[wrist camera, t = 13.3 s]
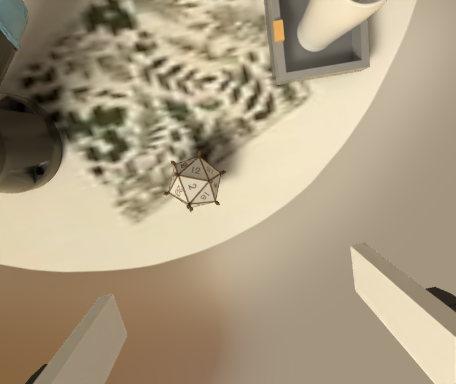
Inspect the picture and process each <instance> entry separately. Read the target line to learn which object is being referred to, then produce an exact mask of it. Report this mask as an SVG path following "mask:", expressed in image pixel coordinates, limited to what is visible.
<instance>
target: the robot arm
mask: <svg viewBox="0 0 456 384" xmlns="http://www.w3.org/2000/svg"><path fill="white" fill-rule="evenodd" d="M27 21H28V11H27V8H26V6H25V4H24V2H23V0H0V85H1V82H2V80H3V78H4V76H5V74H6V72H7V70H8V67H9V65H10V63H11V61H12V59H13V57H14V54H15V52H16V51H19V50H20V45H19V42H20V40H21V37H22V35H23V32H24V30H25V27H26V24H27ZM61 155H62V146H61V140H60V136H59V133H58V131H57V128H56V126H55V125H54V123H53V121H52V120H51V118H50V117H49V116H48V115H47V114H46V113H45V112H44V111H43V110H42V109H41V108H40V107H39V106H37V105H36V104H35V103H33V102H31V101H29V100H27V99H25V98H22V97H19V96H15V95H10V94H5V93H0V192H1V193H21V192H25V191H29V190H33V189H36V188H39V187H41V186H43V185H44V184H46V183H47V182H48V181H49V180H50V179H51V178H52V177H53V176H54V175H55V173H56V172H57V170H58V167H59V165H60V161H61ZM351 255H352V264H353V274H354V283H355V290H356V292H357V293H358V294H359V295H360V296H361V298H362V299H363V300H364V301H365V302H366V303H367V305H368V306H369V307H370V308H371V309H372V311H373V312H374V313H375V314H376V315H377V316H378V318H379V319H380V320H381V321H382V322H383V323H384V324H385V326H386V327H387V328H388V329H389V330H390V332H391V333H392V334H393V335H394V336H395V338H396V339H397V340H398V341H399V342H400V343H401V345H402V346H403V347H404V348H405V349H406V350H407V352H408V353H409V354H410V355H411V356H412V357H413V359H414V360H415V361H416V362H417V363H418V365H419V366H420V367H421V368H422V369H423V371H424V372H425V373H426V374H427V375H428V376H429V378H430V379H431V380H432V381H433V382H434V383H435V384H456V297H455V296H454V295H452V294H451V293H448V292H446V291H444V290H441V289H439V288H436V287H432V288H428V289H424V288H423V287H422V286H421V285H419V284H418V283H417V282H415V281H414V280H413V279H411V278H410V277H409V276H408V275H406V274H405V273H404V272H402V271H401V270H400V269H398V268H397V267H396V266H394V265H393V264H392V263H391V262H389V261H388V260H386V259H385V258H384V257H383V256H381V255H380V254H379V253H377V252H376V251H375V250H373V249H372V248H371V247H370V246H368V245H367V244H366V243H361V244H356V245H351ZM126 337H127V332H126V329H125V327H124V324H123V321H122V318H121V315H120V312H119V309H118V307H117V304H116V301H115V298H114V295H113V293H112V294H108V295H103V296H99V297H98V299H97V300H96V301H95V303H94V304H93V305H92V307H91V308H90V309H89V311H88V312H87V313H86V314H85V316H84V317H83V318H82V320H81V321H80V322H79V324H78V325H77V326H76V328H75V329H74V330H73V332H72V333H71V334H70V336H69V337H68V338H67V340H66V341H65V342H64V344H63V345H62V346H61V347H60V349H59V350H58V351H57V353H56V354H55V356H54V357H53V358H52V359H51V361H50V362H49V363H48V364H44V365H43V366H42V367H41V368H40V369H39V370H38V371H37V372H36V373H34V374H33V375H32V376H31V377H30V378H29V380H28V381H27V382H26V383H25V384H105V382H106V380H107V378H108V376H109V374H110V372H111V369H112V367H113V365H114V363H115V361H116V359H117V357H118V354H119V352H120V350H121V348H122V346H123V344H124V342H125V340H126Z"/></svg>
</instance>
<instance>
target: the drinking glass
mask: <svg viewBox="0 0 456 384" xmlns="http://www.w3.org/2000/svg"><path fill="white" fill-rule="evenodd" d="M386 1H387V0H309V2H308V5H307V7H306V10H305V12H304V15H303V17H302V18H301V20H300V22H299V25H298V28H297V37H298V41H299V43H300V44H301V46H302V47H303V48H304V49H306V50H308V51H311V52H318V51H321V50H323V49H325V48H326V47H328V46H329V45H330V44H331V43H332V42H334V41H335V40H337V39H338V38H340V37H341V36H343V35H344V34H346V33H347V32H349V31H350V30H352V29H353V28H355V27H356V26H358V25H359V24H360V23H362V22H363V21H365V20H366V19H367V18H368V17H370V16H371V15H372V14H373V13H374V12H376V11H377V10H378V9H379V8H380V7H381V6H382V5H383V4H384V3H385V2H386Z"/></svg>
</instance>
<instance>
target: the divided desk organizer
mask: <svg viewBox="0 0 456 384" xmlns="http://www.w3.org/2000/svg"><path fill="white" fill-rule="evenodd" d="M308 2H309V0H264V5H265V14H266V23H267V31H268V40H269V49H270V58H271V67H272V76H273V78H276V84H277V85H280V84H286V83H292V82H298V81H304V80H310V79H316V78H322V77H328V76H334V75H340V74H346V73H353V72H359V71H362V70H364V69H366V68H368V67H370V62H369V37H368V18H367V19H366V20H365V21H363V22H362V23H360V24H359V25H358V26H356V27H355V28H353V29H352V30H350V31H349V32H347V33H346V34H344V35H343V36H341V37H340V38H338V39H337V40H335V41H334V42H332V43H331V44H330V45H329V46H328V47H326V48H325V49H323V50H321V51H318V52H311V51H308V50H306V49H304V48H303V47H302V46H301V44H300V43H299V41H298V37H297V28H298V25H299V22H300V20H301V18H302V17H303V15H304V12H305V10H306V7H307V5H308Z"/></svg>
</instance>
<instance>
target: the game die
mask: <svg viewBox="0 0 456 384" xmlns="http://www.w3.org/2000/svg"><path fill="white" fill-rule="evenodd" d="M197 155H198V157H195V158H192V159H189V160H186V161H183V162H180V163H177V164H176V163H175V162H174V161H171V164H173V165H174V170H173V174H172V179H171V183H170V188H169V191H168V192H165V193H164V194H163V195H166V196H167V195H168V194H171V195H173V196H174V197H176V198H177V199H179V200H180V201H182V202H183V203H185V204H186V205H187V208H188V209H189V208H190V209H189V210H190V212H191V211H192V210H193V207H196V206H200V205H204V204H208V203H213V202H215V204H217V205H220V204H219V202H218V201H216V198H217V192H218V187H219V182H220V177H221V174H225V172H226V171H222V172H219V171H218V170H216V169H215V168H214V167H213V166H211V165H210V164H209V163H207V162H206V161H205V160H204V159H202V158H201V157H200V156H201V152H200V151H199V152H198V154H197Z"/></svg>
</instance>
